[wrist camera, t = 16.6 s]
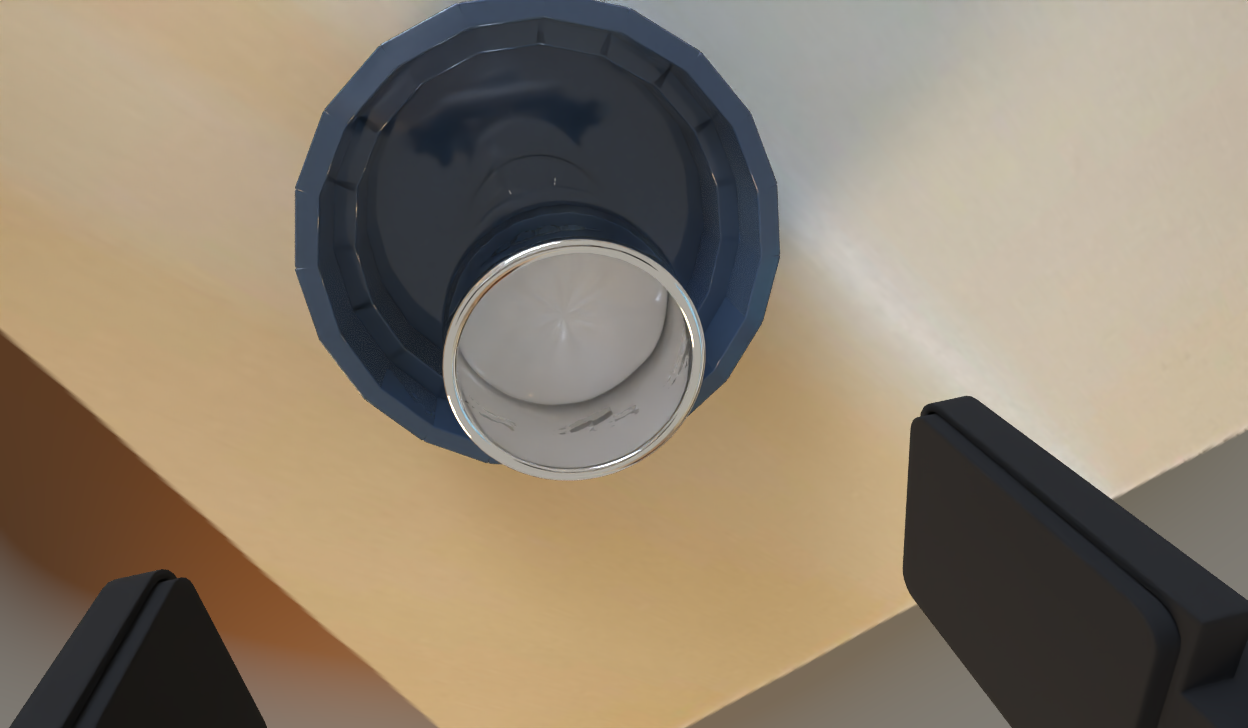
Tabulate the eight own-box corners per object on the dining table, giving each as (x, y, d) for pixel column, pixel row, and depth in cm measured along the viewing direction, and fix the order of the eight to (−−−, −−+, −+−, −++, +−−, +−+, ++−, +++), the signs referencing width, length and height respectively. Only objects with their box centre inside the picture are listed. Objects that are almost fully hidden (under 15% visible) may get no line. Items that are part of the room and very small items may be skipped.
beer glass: (649, 241, 32) (762, 386, 19) (526, 331, 33) (551, 533, 20) (555, 108, 29) (611, 168, 16) (423, 211, 30) (369, 350, 17)
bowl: (394, 433, 35) (376, 506, 29) (268, 37, 27) (213, 37, 22) (743, 363, 36) (787, 419, 31) (716, -28, 29) (768, -43, 23)
